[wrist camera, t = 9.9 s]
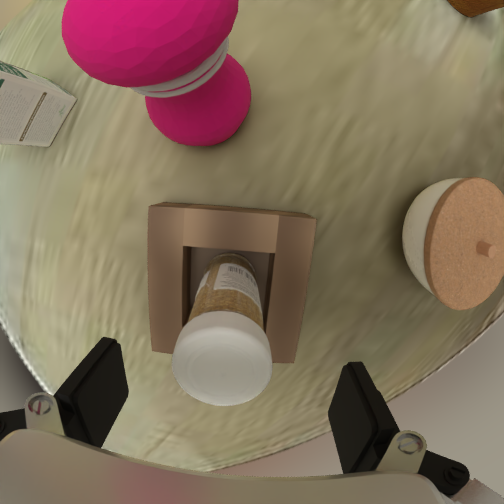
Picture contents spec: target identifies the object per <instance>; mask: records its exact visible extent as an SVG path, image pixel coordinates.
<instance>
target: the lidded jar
mask: <svg viewBox="0 0 504 504" xmlns="http://www.w3.org/2000/svg"><path fill="white" fill-rule="evenodd" d="M402 242H403V251H404V255H405V258H406V261H407V264H408V266H409V268H410V270H411V272H412V273H413V274H414V276H415V277H416V278H417V280H418V281H419V282H420V283H421V284H422V285H423V286H424V287H425V288H426V289H427V290H428V291H429V292H430V293H432V294H433V295H434V296H435V297H437V298H438V299H439V300H440V301H441V302H442V303H443V304H445V305H446V306H448V307H450V308H452V309H456V310H466V309H470V308H473V307H475V306H477V305H479V304H480V303H482V302H483V301H484V300H485V299H487V298H488V297H489V296H490V295H491V293H492V292H493V291H494V290H495V288H496V287H497V285H498V284H499V282H500V280H501V279H502V277H503V275H504V196H503V194H502V193H501V191H500V190H499V189H498V188H497V187H496V185H494V184H493V183H492V182H490V181H489V180H486V179H484V178H478V177H469V178H454V179H447V180H443V181H440V182H437V183H434V184H432V185H430V186H429V187H427V188H426V189H424V190H423V191H422V192H421V193H420V194H419V195H418V196H417V197H416V198H415V199H414V201H413V203H412V204H411V206H410V208H409V210H408V212H407V214H406V217H405V220H404V225H403V232H402Z"/></svg>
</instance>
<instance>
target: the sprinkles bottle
mask: <svg viewBox="0 0 504 504" xmlns="http://www.w3.org/2000/svg"><path fill="white" fill-rule="evenodd" d="M172 370H173V373H174V376H175V378H176V380H177V382H178V384H179V385H180V386H181V387H182V389H184V390H185V391H186V392H187V393H188V394H189V395H191V396H192V397H194V398H196V399H197V400H200V401H202V402H204V403H208V404H212V405H218V406H231V405H237V404H242V403H245V402H247V401H249V400H251V399H253V398H255V397H256V396H257V395H259V394H260V393H261V392H262V391H263V390H264V389H265V387H266V386H267V385H268V383H269V381H270V378H271V375H272V357H271V350H270V345H269V341H268V338H267V336H266V334H265V333H264V330H263V316H262V310H261V304H260V298H259V292H258V287H257V284H256V272H255V269H254V267H253V265H252V264H251V263H250V261H248V260H247V259H246V258H245V257H243V256H241V255H239V254H235V253H225V254H221V255H217V256H216V257H214V258H213V259H212V260H211V261H210V262H209V263H208V265H207V267H206V268H205V271H204V277H203V278H202V281H201V283H200V286H199V289H198V291H197V294H196V297H195V303H194V305H193V309H192V311H191V314H190V317H189V320H188V323H187V324H186V325H185V326H184V328H183V329H182V331H181V332H180V334H179V337H178V340H177V342H176V345H175V349H174V352H173V356H172Z"/></svg>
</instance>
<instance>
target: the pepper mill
mask: <svg viewBox="0 0 504 504" xmlns="http://www.w3.org/2000/svg"><path fill="white" fill-rule="evenodd" d="M237 13H238V0H68V1H67V3H66V6H65V8H64V12H63V17H62V37H63V40H64V43H65V45H66V48H67V51H68V54H69V55H70V57H71V58H72V59H73V61H74V62H75V63H76V64H77V65H78V66H79V67H80V68H82V69H83V70H84V71H85V72H86V73H87V74H88V75H89V76H91V77H93V78H95V79H98V80H100V81H102V82H105V83H107V84H111V85H117V86H122V87H130V88H131V89H133V90H134V91H136V92H138V93H140V94H142V95H145V100H146V107H147V110H148V113H149V116H150V119H151V120H152V122H153V123H154V125H155V126H156V127H157V128H158V129H159V130H160V132H162V133H163V134H164V135H165V136H166V137H168V138H169V139H171V140H172V141H175V142H177V143H180V144H184V145H190V146H211V145H215V144H219V143H221V142H223V141H225V140H227V139H228V138H229V137H231V136H232V135H233V134H234V133H235V132H236V131H237V129H238V128H239V126H240V124H241V123H242V121H243V120H244V118H245V117H246V115H247V113H248V110H249V107H250V102H251V89H250V84H249V80H248V77H247V75H246V73H245V71H244V69H243V67H242V66H241V65H240V64H239V63H238V62H237V61H236V60H235V59H234V58H233V57H232V56H230V55H229V54H227V51H228V44H229V39H228V35H229V33H230V32H231V30H232V27H233V24H234V21H235V18H236V15H237Z"/></svg>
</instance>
